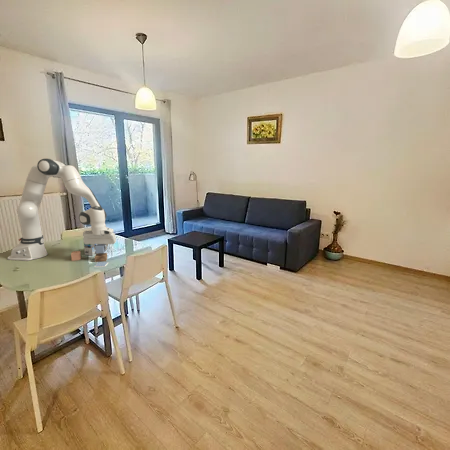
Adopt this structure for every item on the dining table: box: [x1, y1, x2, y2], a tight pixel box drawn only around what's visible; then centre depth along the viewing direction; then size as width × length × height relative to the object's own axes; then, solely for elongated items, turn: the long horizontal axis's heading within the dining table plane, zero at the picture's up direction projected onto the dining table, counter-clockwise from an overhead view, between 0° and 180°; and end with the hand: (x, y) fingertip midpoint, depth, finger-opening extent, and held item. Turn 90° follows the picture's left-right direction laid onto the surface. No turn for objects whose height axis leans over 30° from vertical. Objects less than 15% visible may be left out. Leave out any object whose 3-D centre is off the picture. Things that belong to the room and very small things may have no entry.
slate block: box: [95, 244, 107, 253], centre depth 174 cm, size 5×5×5 cm
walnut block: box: [94, 252, 108, 263], centre depth 175 cm, size 7×7×4 cm
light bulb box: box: [83, 243, 97, 257], centre depth 187 cm, size 11×7×11 cm, turn 168°
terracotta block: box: [70, 250, 82, 262], centre depth 175 cm, size 5×5×5 cm
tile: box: [93, 261, 109, 268], centre depth 167 cm, size 7×7×1 cm
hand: (100, 249), depth 174 cm, fingers closed on slate block, 5 cm apart
